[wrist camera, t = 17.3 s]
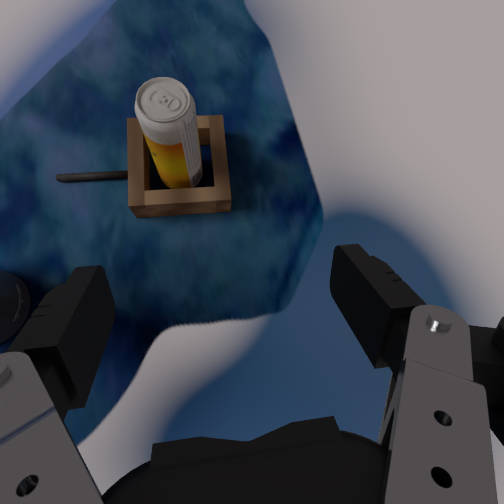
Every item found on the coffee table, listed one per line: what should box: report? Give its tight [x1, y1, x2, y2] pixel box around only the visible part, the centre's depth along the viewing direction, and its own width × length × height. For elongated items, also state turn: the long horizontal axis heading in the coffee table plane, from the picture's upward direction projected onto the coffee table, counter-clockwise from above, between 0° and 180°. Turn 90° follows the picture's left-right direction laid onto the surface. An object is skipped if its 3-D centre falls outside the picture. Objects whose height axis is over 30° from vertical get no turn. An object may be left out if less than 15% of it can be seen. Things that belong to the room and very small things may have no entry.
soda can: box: [135, 77, 203, 189], centre depth 38 cm, size 6×6×15 cm
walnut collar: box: [56, 115, 231, 218], centre depth 43 cm, size 24×13×4 cm, turn 96°
